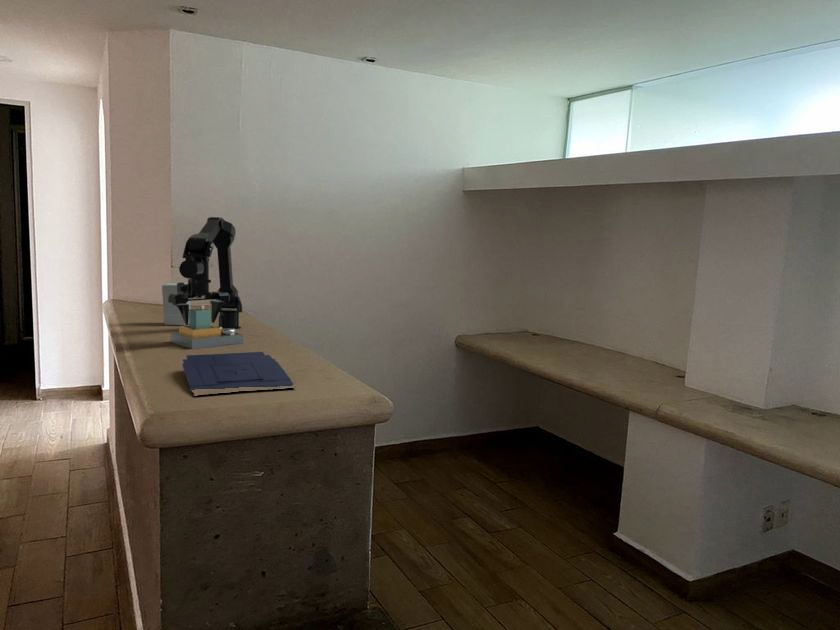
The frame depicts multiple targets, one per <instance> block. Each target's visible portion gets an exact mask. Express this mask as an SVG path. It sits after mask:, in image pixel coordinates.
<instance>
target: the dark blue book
mask: <svg viewBox="0 0 840 630" xmlns="http://www.w3.org/2000/svg"><path fill="white" fill-rule="evenodd" d="M182 369H183V372H184V375H185V378H186V380H187V383H188V387H189V390H190V391H191V390H195V389H225V388H239V387H278V386H279V387H280V386H292V385H294V383H293V382H292V379H291V378H290V377H289V376H288V374H287V373H286V371H285V370H284V369H283V367H282V366H281V365H280V363H279V362H278V361H277V360H276V359H275V358H273V357H272V356H271V354H270V355H269V354H265V353H264V352H263V351H249V352H247V351H246V352H233V353H230V352H229V353H211V354H210V353H209V354H207V353H206V354H189V355H188V354H187V355H186V359H183V358H182Z"/></svg>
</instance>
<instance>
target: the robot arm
mask: <svg viewBox="0 0 840 630" xmlns="http://www.w3.org/2000/svg"><path fill="white" fill-rule="evenodd" d="M235 237H236V228H235V226H234V225H233V223H231V222H229V221H227V220H225V218H223V217H219V216H216V217H215V216H210V217H208V218H207V220H206V223H205V224H204V225H203V227H202V228H201V230H200V231H199V232H198V233H195V234H192V235H190V236H189V237H188V239H187V240H186V242H185V246H184V248H183V249H184V250H183V254H182V259H185V260H182V261H181V263H180V264H179V267H178V271H179V274H180V275H181V276H182V277H183V278H184V279H188V280H187V283H188V284H184V283H185V282H177V292H178V293H175V294H170V295H169V297H168V302H170V303H173V305H176V306H177V307H178V309H179V310H180V312H181V315H182V317H183V320H184V323H185V325H184V326H187V325H189V324H188V321H189V304H186V303H187V302H188V301H190V302H191V301H209V300H210V301H209V302H210V306H211V324H214V323H215V322H216V320H217V318H218V326H220V327H222V328H234V329H241V328H242V327H241V325H240V323H239V322H240V316H239V315H240V313H243V304H242V300H241V297H240V296H239V290H238V289H237V288H236V286H235V285H234V279H233V266H232V254H231V253H232V249H231V247H232V246H233V243H234V241H235ZM214 246H215V247H214ZM214 248H216V250H217V262H218V263H217V265H218V274H219V288H218V290H216V291H210V284H211V283H212V279H210V273H209V271H210V258H211V256H212V254H213V253H212V252H213V250H214ZM182 293H183V294H182Z"/></svg>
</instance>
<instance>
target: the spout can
mask: <svg viewBox="0 0 840 630" xmlns="http://www.w3.org/2000/svg"><path fill="white" fill-rule="evenodd" d="M211 311H212V309H206V308H205V305H201V304H200V305H199V308H191V309H189V324H188V325H189V328H190V329H194V330H195V329H206V328H211V325H212V320H211Z"/></svg>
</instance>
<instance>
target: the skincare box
mask: <svg viewBox="0 0 840 630" xmlns="http://www.w3.org/2000/svg"><path fill="white" fill-rule="evenodd" d="M177 283H178V282H177ZM177 283H175V282H174V283H172V282H169V283H164V284H162V285H161V292H162V293H161V294H162V306H163V320H164V322H163V323H164V325H165V326H186V325H185V323H184V320H183V317H182V315H181V312H180V310H179V309H178V307H177V306H176V305H173V303H170V302H168V297H169V295H170V294H175V293H178V292H177ZM183 283H184V284H188V282H187V283H186V282H183ZM182 294H183V293H182ZM186 304H189V309H192V308H191V301H188V302H187V303H186ZM188 325H189V321H188Z"/></svg>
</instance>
